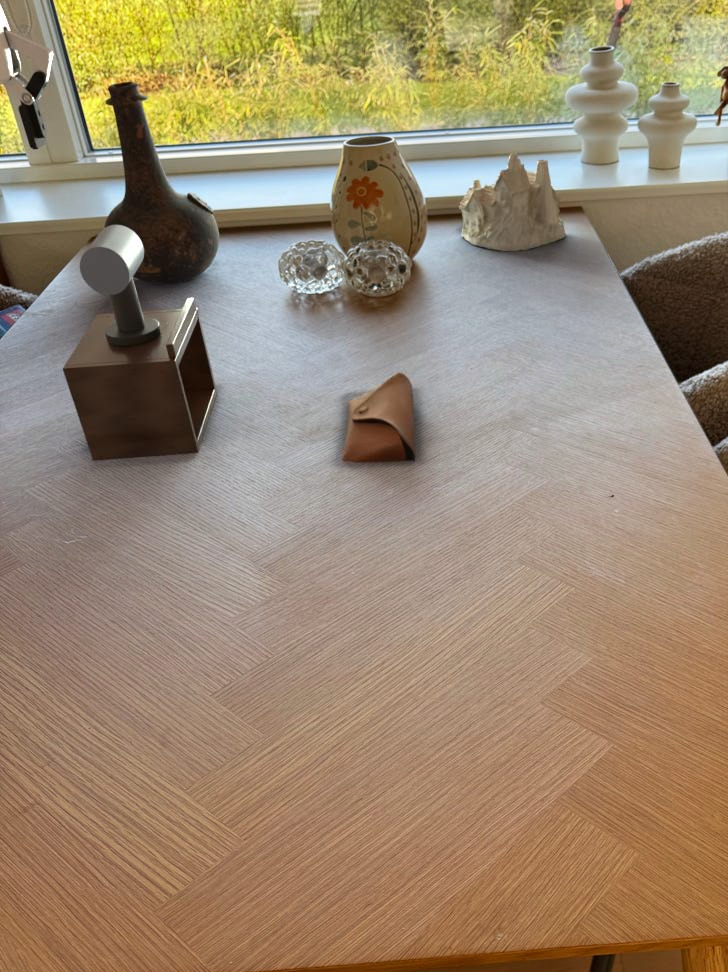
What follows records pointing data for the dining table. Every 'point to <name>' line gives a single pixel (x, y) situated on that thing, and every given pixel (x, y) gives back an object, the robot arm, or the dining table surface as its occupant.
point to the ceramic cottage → (513, 209)
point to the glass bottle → (158, 201)
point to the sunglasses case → (382, 424)
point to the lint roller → (119, 283)
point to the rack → (143, 387)
